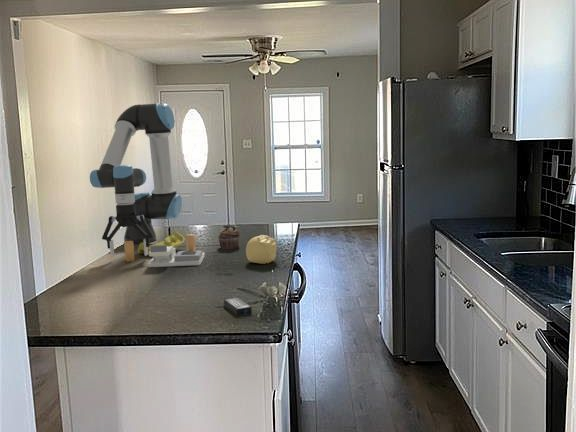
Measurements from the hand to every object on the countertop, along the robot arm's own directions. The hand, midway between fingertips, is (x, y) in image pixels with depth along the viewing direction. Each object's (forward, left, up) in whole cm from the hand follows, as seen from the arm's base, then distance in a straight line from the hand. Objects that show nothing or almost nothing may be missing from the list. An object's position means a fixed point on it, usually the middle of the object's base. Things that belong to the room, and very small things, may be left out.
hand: (129, 255), depth 227 cm
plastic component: (-15, +11, -3) cm, 19 cm away
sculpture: (+13, +54, -2) cm, 56 cm away
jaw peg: (0, 0, -2) cm, 2 cm away
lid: (+10, +15, +3) cm, 18 cm away
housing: (+5, +20, -2) cm, 21 cm away
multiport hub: (+70, +48, -3) cm, 85 cm away
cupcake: (-19, +39, -2) cm, 44 cm away
